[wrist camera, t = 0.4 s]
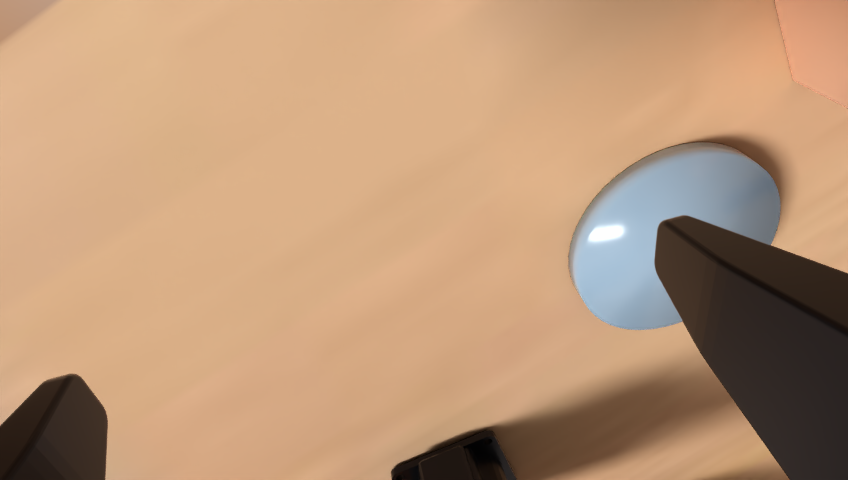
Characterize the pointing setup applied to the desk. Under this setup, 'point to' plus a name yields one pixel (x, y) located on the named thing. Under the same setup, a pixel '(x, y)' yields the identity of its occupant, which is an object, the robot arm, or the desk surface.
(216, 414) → the desk surface
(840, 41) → the container
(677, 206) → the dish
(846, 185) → the desk surface
